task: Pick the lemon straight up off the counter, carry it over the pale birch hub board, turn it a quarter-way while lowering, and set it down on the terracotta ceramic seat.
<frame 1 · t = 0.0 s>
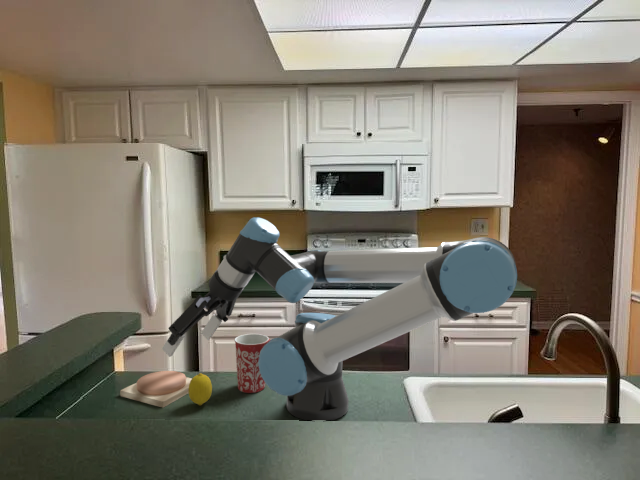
hand: (187, 343, 105), 15 cm above the countertop, tool tilted 35°, fingers open, 13 cm apart
lemon: (200, 406, 107), on the countertop
mug: (256, 386, 119), on the countertop
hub: (161, 390, 114), on the countertop
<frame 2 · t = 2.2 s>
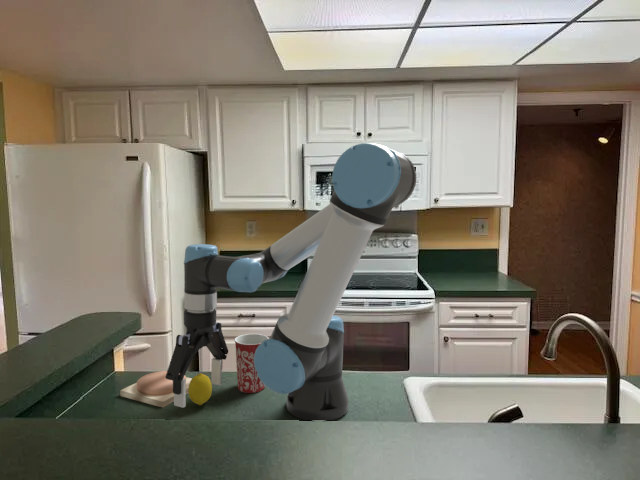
hand: (199, 394, 107), 3 cm above the countertop, tool pointing down, fingers open, 13 cm apart
nothing on the countertop moved.
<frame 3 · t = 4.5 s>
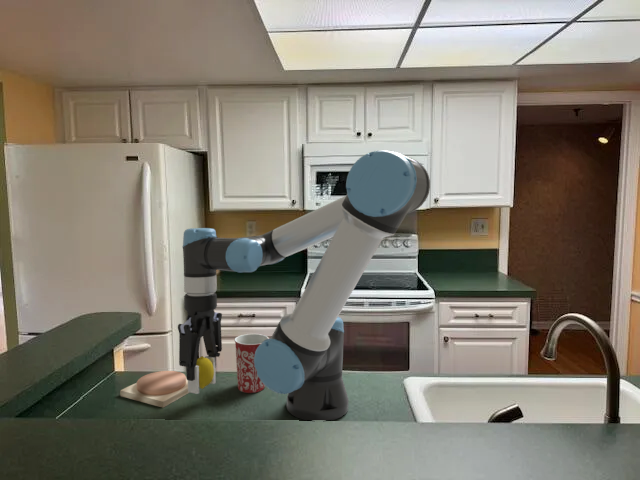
hand: (202, 387, 106), 5 cm above the countertop, tool pointing down, fingers closed on lemon, 5 cm apart
lemon: (202, 389, 106), point 4 cm above the countertop, touching gripper
everything else where it was.
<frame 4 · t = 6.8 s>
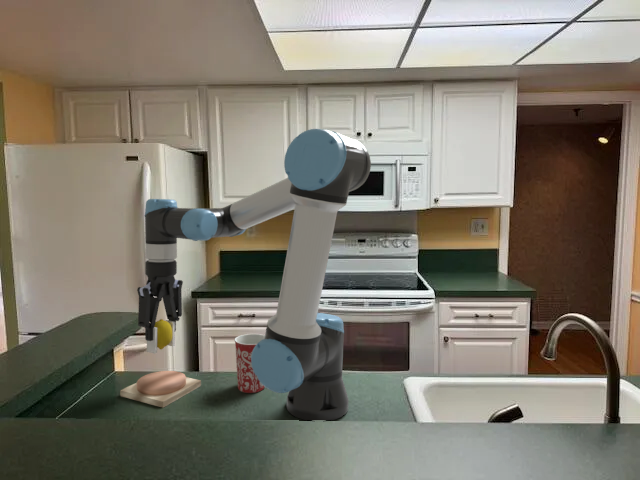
hand: (161, 348, 113), 11 cm above the countertop, tool pointing down, fingers closed on lemon, 5 cm apart
lemon: (161, 350, 113), point 11 cm above the countertop, touching gripper
everything else where it was.
when the fingers open (4 cm above the countertop, at t = 9.1 s): lemon stays where it is, resting on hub.
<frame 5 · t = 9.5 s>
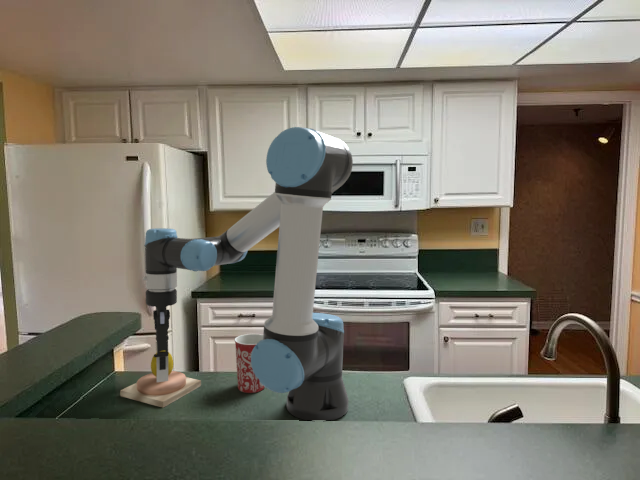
hand: (161, 372, 114), 5 cm above the countertop, tool pointing down, fingers open, 10 cm apart
lemon: (162, 380, 114), point 3 cm above the countertop, touching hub
everything else where it was.
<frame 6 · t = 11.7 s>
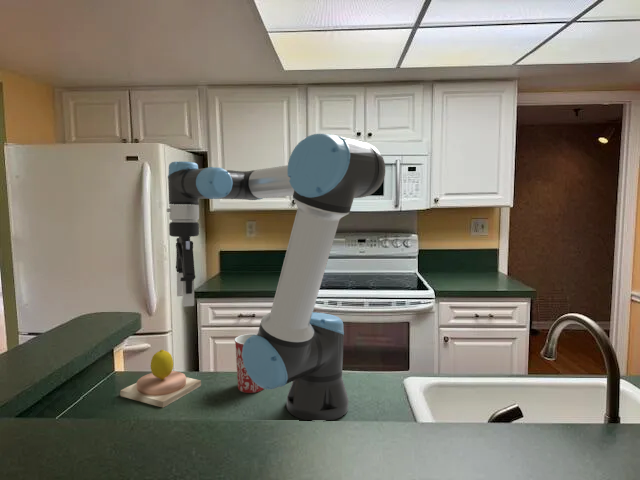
hand: (185, 300, 117), 23 cm above the countertop, tool pointing down, fingers open, 13 cm apart
nothing on the countertop moved.
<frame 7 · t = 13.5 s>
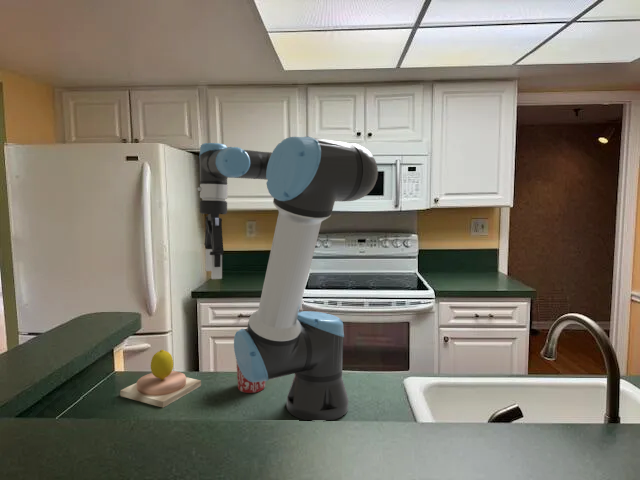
hand: (213, 274, 125), 29 cm above the countertop, tool pointing down, fingers open, 13 cm apart
nothing on the countertop moved.
at the end: lemon inside the target area on the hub (0.1 cm from its centre), point 2.8 cm above the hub's base; the gripper is holding nothing; mug moved 0.2 cm from its start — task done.
